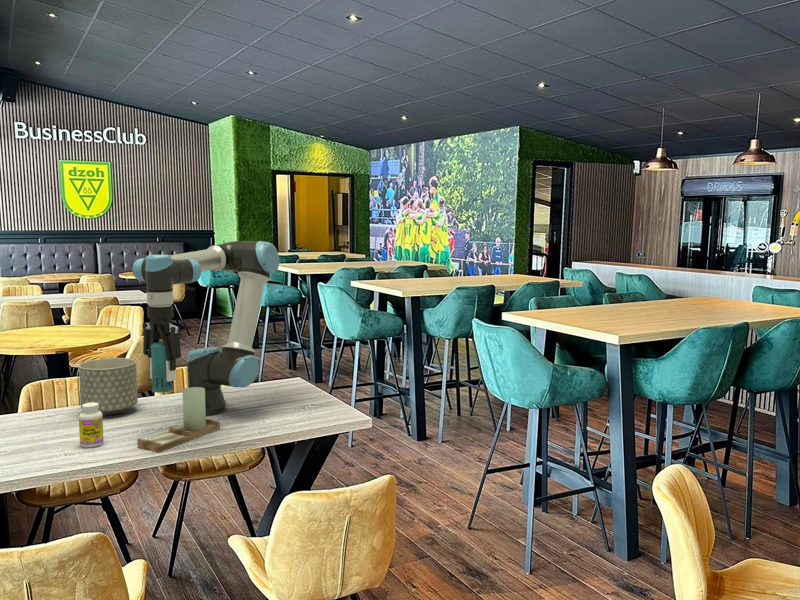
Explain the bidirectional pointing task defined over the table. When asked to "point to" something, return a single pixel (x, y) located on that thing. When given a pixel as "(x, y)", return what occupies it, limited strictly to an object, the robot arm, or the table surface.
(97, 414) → the supplement bottle
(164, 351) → the beverage bottle
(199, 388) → the sage canister
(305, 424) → the table surface
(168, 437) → the wooden tray
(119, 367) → the planter
